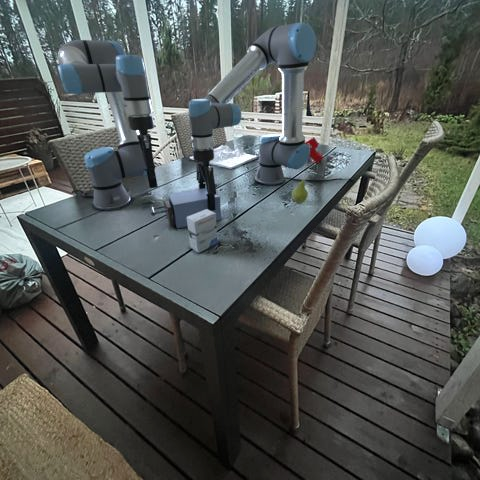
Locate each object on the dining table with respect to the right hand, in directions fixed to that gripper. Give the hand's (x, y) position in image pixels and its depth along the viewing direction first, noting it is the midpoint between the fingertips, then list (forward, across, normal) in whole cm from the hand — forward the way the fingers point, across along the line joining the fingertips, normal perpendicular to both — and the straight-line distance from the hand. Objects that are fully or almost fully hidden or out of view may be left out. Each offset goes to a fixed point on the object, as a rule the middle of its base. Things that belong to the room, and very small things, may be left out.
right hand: (207, 204), depth 109 cm
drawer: (+4, 0, -11) cm, 12 cm away
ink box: (+5, +21, -8) cm, 23 cm away
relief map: (+5, -73, +33) cm, 81 cm away
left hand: (-10, 0, -19) cm, 22 cm away
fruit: (+5, +4, +41) cm, 42 cm away
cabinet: (+5, 0, -5) cm, 7 cm away
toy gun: (+5, -45, +78) cm, 90 cm away
